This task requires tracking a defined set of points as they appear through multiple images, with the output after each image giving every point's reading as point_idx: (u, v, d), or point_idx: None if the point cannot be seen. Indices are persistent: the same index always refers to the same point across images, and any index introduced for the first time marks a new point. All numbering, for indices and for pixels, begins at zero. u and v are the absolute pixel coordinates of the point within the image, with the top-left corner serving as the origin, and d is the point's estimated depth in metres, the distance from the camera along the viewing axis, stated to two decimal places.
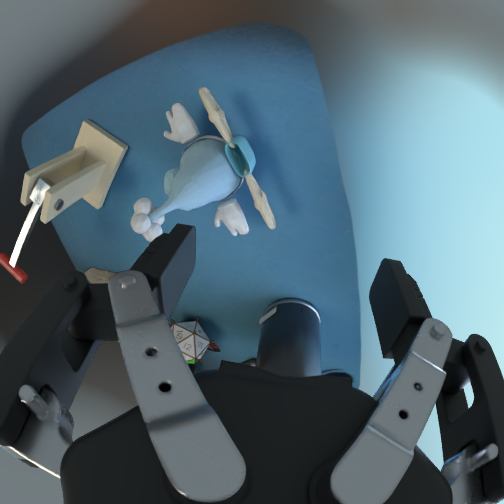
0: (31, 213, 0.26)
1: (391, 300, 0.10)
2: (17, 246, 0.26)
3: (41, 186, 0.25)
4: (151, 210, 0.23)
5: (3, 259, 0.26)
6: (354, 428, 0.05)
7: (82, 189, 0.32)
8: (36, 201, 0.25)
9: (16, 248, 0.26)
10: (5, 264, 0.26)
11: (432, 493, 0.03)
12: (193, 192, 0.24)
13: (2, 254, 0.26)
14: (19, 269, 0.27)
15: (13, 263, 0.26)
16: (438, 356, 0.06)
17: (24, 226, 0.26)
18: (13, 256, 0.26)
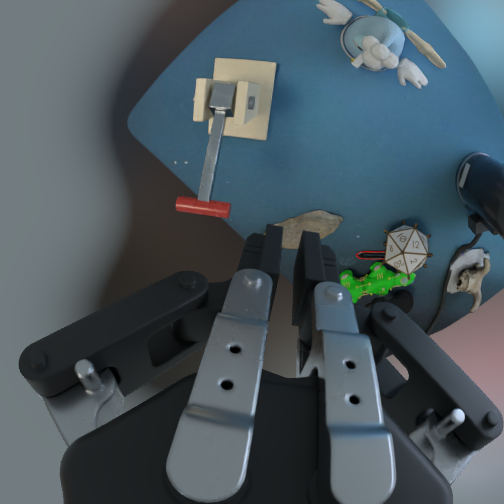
0: (216, 124, 0.25)
1: (300, 268, 0.11)
2: (206, 171, 0.26)
3: (222, 89, 0.24)
4: None
5: (186, 200, 0.26)
6: None
7: (254, 104, 0.30)
8: (222, 104, 0.25)
9: (206, 175, 0.26)
10: (191, 205, 0.26)
11: (425, 491, 0.03)
12: (396, 29, 0.18)
13: (181, 196, 0.26)
14: (217, 201, 0.26)
15: (206, 195, 0.26)
16: (323, 317, 0.08)
17: (210, 142, 0.26)
18: (204, 187, 0.26)
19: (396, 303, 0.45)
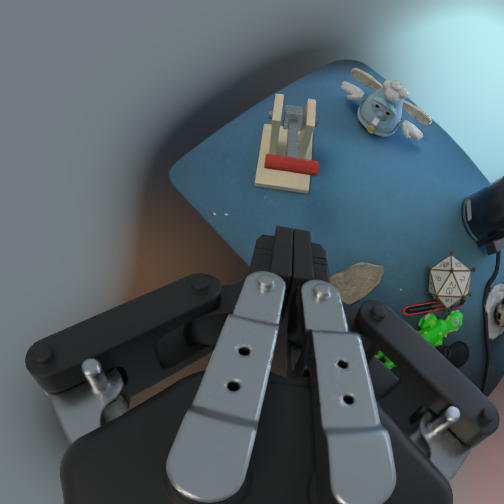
0: (292, 123, 0.30)
1: None
2: (291, 143, 0.28)
3: (293, 107, 0.32)
4: None
5: None
6: None
7: None
8: (296, 112, 0.31)
9: (291, 144, 0.27)
10: (282, 157, 0.25)
11: (424, 491, 0.03)
12: None
13: None
14: None
15: (295, 154, 0.26)
16: (309, 315, 0.08)
17: (290, 130, 0.29)
18: (291, 150, 0.27)
19: (454, 351, 0.34)
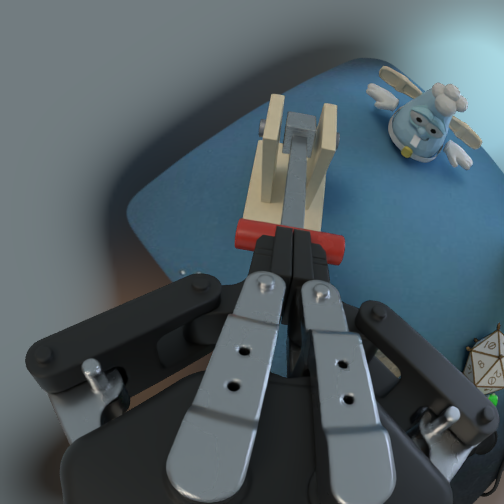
0: (297, 146, 0.18)
1: None
2: (293, 189, 0.15)
3: (300, 116, 0.20)
4: None
5: (259, 221, 0.13)
6: None
7: None
8: (304, 126, 0.19)
9: (293, 193, 0.15)
10: (271, 228, 0.13)
11: (424, 491, 0.03)
12: None
13: None
14: None
15: (298, 219, 0.14)
16: (309, 315, 0.08)
17: (293, 161, 0.17)
18: (291, 207, 0.14)
19: (482, 441, 0.20)
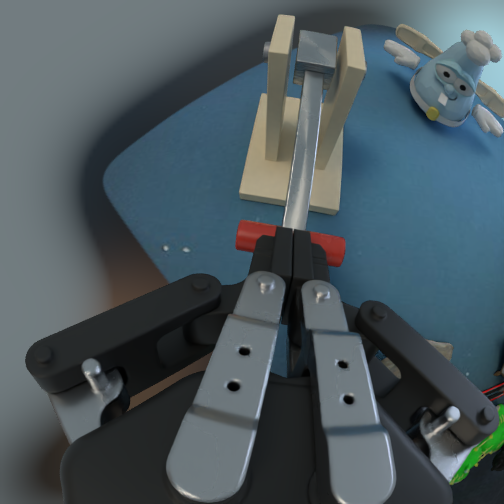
0: (310, 91, 0.13)
1: None
2: (299, 173, 0.13)
3: (316, 39, 0.13)
4: None
5: (258, 229, 0.13)
6: None
7: None
8: (320, 60, 0.12)
9: (298, 180, 0.13)
10: None
11: (424, 491, 0.03)
12: None
13: (245, 221, 0.13)
14: (319, 233, 0.13)
15: (300, 221, 0.13)
16: (309, 315, 0.08)
17: (303, 121, 0.13)
18: (295, 203, 0.13)
19: None
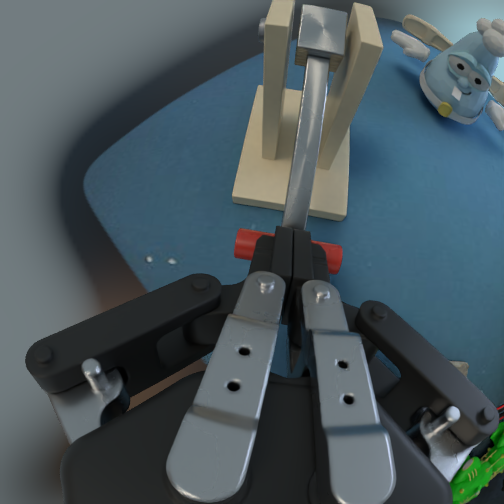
0: (313, 83, 0.11)
1: None
2: (298, 182, 0.12)
3: (321, 16, 0.10)
4: None
5: (255, 241, 0.13)
6: None
7: None
8: (326, 46, 0.10)
9: (297, 190, 0.12)
10: None
11: (424, 491, 0.03)
12: None
13: (243, 232, 0.13)
14: (317, 242, 0.13)
15: None
16: (309, 315, 0.08)
17: (304, 121, 0.12)
18: (293, 215, 0.13)
19: None
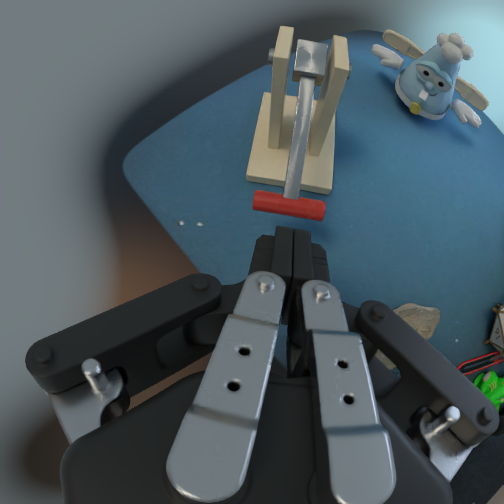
0: (304, 94, 0.18)
1: None
2: (294, 158, 0.19)
3: (310, 48, 0.16)
4: None
5: (267, 197, 0.19)
6: None
7: None
8: (312, 69, 0.16)
9: (294, 163, 0.19)
10: (275, 204, 0.19)
11: (424, 491, 0.03)
12: None
13: (259, 191, 0.20)
14: (308, 199, 0.20)
15: (295, 191, 0.19)
16: (309, 315, 0.08)
17: (298, 119, 0.18)
18: (291, 180, 0.19)
19: None
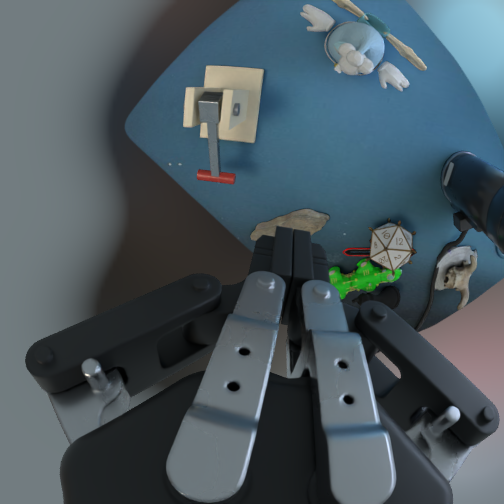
0: (210, 130, 0.30)
1: None
2: (212, 160, 0.34)
3: (207, 107, 0.27)
4: (355, 50, 0.21)
5: (203, 176, 0.37)
6: None
7: (242, 110, 0.33)
8: (211, 121, 0.28)
9: (213, 163, 0.35)
10: (208, 179, 0.37)
11: (424, 491, 0.03)
12: (374, 35, 0.21)
13: (199, 173, 0.37)
14: (225, 174, 0.37)
15: (216, 173, 0.36)
16: (309, 315, 0.08)
17: (210, 143, 0.32)
18: (213, 169, 0.36)
19: (383, 299, 0.47)
